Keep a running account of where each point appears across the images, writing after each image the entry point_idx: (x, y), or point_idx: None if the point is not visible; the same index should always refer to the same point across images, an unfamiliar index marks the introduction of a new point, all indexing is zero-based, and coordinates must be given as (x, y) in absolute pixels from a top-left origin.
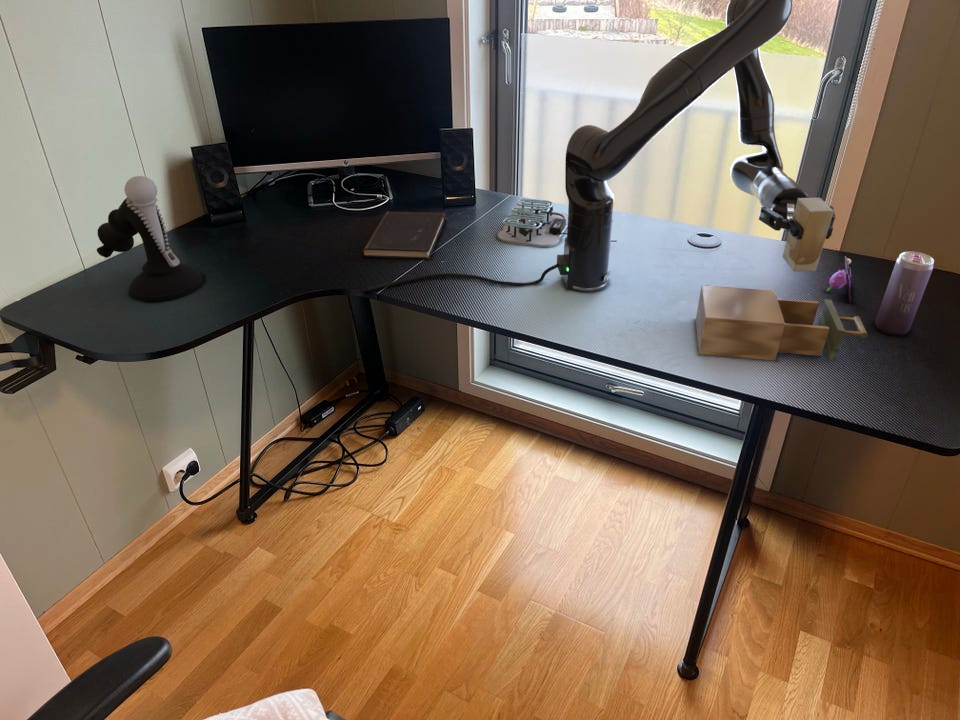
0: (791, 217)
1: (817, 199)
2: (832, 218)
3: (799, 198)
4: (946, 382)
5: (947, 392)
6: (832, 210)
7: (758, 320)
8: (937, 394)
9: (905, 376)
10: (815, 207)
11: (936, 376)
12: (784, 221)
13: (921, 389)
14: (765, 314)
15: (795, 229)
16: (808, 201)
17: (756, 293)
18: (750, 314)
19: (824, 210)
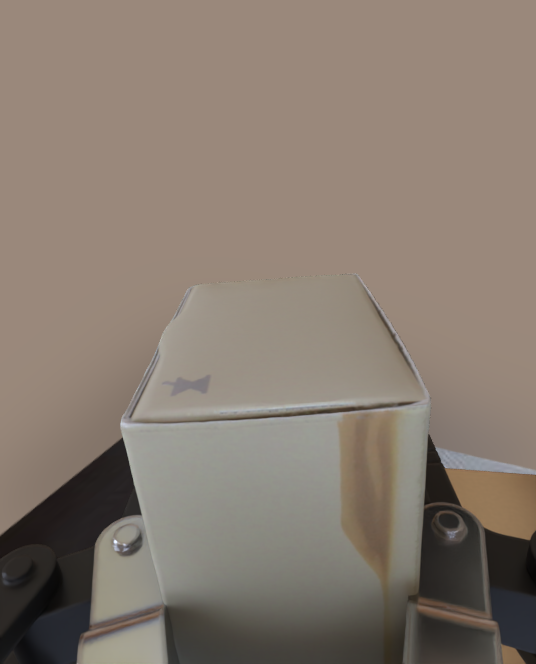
0: (446, 523)
1: (199, 376)
2: (40, 551)
3: (410, 394)
4: (56, 497)
5: (85, 472)
6: (195, 285)
7: (490, 474)
8: (109, 467)
9: (121, 511)
10: (299, 295)
11: (56, 513)
12: (505, 536)
13: (125, 477)
14: (469, 504)
15: None
16: (322, 346)
17: (520, 657)
18: (521, 502)
19: (253, 280)
